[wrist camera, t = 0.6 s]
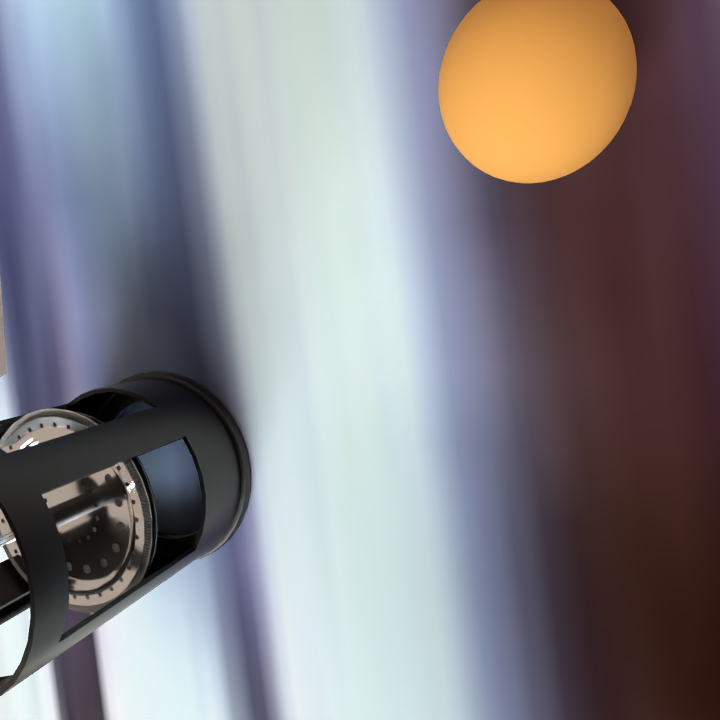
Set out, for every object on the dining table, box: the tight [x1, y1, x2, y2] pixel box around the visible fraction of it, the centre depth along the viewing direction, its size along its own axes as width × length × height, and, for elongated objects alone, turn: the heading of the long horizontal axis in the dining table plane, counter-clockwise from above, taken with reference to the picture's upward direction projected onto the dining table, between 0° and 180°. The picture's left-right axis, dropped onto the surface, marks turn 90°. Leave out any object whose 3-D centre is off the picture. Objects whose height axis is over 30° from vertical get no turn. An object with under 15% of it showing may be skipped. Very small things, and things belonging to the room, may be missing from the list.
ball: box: [438, 0, 637, 183], centre depth 21 cm, size 6×6×6 cm
